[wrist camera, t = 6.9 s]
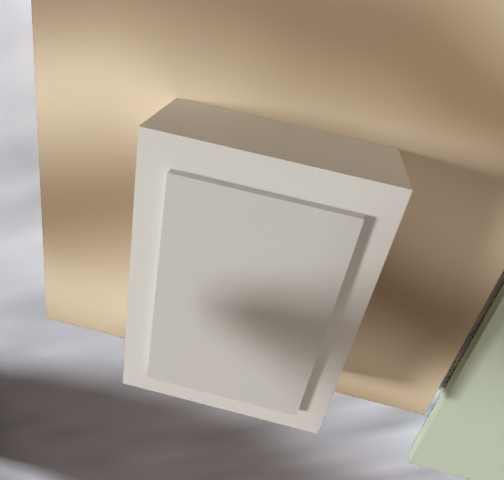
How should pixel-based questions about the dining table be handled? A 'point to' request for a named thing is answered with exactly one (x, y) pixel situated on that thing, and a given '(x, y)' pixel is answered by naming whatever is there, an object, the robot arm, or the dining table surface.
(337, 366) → the cover
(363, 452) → the dining table surface
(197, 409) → the dining table surface
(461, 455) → the mat
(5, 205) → the dining table surface
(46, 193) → the board
